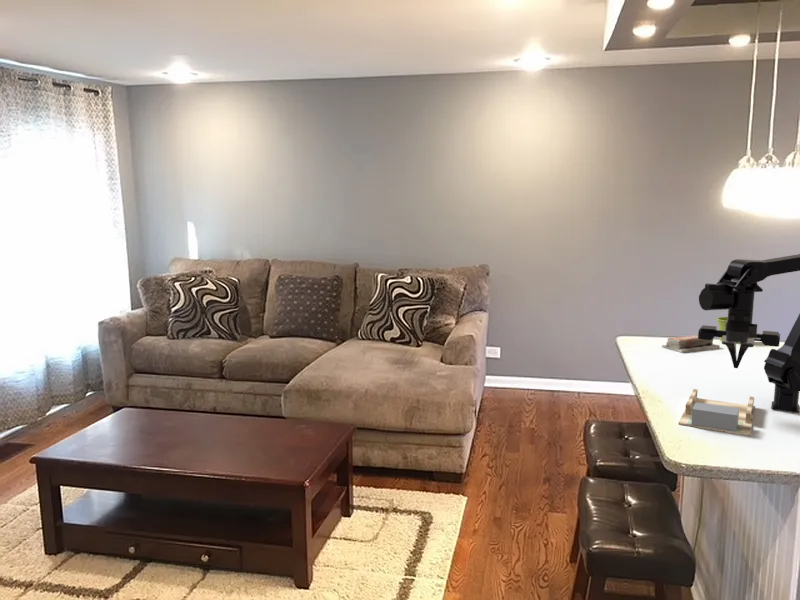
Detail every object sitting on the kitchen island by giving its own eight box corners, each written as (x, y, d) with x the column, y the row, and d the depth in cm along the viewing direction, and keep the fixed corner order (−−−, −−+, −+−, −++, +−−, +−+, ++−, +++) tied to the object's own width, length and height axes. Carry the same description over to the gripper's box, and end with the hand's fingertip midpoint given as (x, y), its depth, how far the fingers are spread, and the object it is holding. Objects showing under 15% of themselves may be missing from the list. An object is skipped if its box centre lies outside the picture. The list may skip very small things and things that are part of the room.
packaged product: (682, 341, 242) (662, 335, 251) (681, 354, 243) (661, 348, 252) (720, 336, 249) (699, 331, 258) (720, 349, 249) (698, 344, 259)
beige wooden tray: (691, 398, 191) (691, 388, 191) (755, 407, 184) (756, 397, 183) (678, 424, 171) (679, 413, 170) (749, 435, 163) (750, 424, 163)
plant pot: (711, 341, 261) (712, 319, 259) (720, 337, 267) (722, 315, 266) (736, 345, 254) (738, 322, 253) (745, 341, 261) (747, 318, 260)
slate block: (694, 417, 174) (695, 402, 174) (738, 423, 169) (739, 408, 169) (691, 424, 169) (692, 408, 169) (736, 431, 164) (737, 415, 164)
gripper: (697, 310, 173) (693, 370, 176) (781, 317, 164) (775, 380, 167) (702, 304, 183) (698, 360, 185) (782, 310, 174) (777, 369, 176)
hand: (735, 367), depth 178 cm, fingers closed
